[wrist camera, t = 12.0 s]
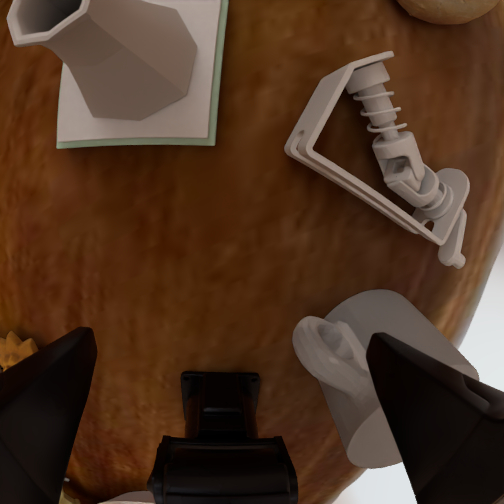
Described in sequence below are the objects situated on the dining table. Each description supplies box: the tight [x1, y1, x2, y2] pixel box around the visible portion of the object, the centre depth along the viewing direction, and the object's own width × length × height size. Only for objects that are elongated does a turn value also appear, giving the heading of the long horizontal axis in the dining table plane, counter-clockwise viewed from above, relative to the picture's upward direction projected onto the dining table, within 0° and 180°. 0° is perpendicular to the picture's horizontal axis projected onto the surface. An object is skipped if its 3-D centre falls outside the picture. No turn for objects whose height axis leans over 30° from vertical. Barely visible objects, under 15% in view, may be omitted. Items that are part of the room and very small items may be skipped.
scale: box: [57, 0, 229, 149], centre depth 15 cm, size 10×10×2 cm
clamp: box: [284, 51, 470, 269], centre depth 18 cm, size 4×10×15 cm
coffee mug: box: [292, 289, 479, 469], centre depth 20 cm, size 13×10×10 cm
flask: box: [7, 0, 197, 121], centre depth 9 cm, size 7×7×10 cm
